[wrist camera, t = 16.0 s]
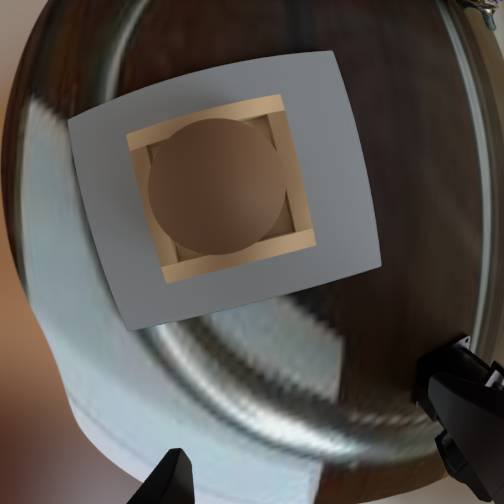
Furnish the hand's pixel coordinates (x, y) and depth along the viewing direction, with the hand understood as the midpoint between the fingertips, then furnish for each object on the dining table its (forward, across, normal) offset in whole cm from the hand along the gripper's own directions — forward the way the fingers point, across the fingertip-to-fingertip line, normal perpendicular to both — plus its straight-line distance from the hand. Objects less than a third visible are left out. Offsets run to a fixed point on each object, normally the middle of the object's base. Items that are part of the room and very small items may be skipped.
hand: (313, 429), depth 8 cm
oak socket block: (+11, +1, -8) cm, 13 cm away
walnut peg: (+7, +1, -8) cm, 11 cm away
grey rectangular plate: (+12, +1, -8) cm, 14 cm away
